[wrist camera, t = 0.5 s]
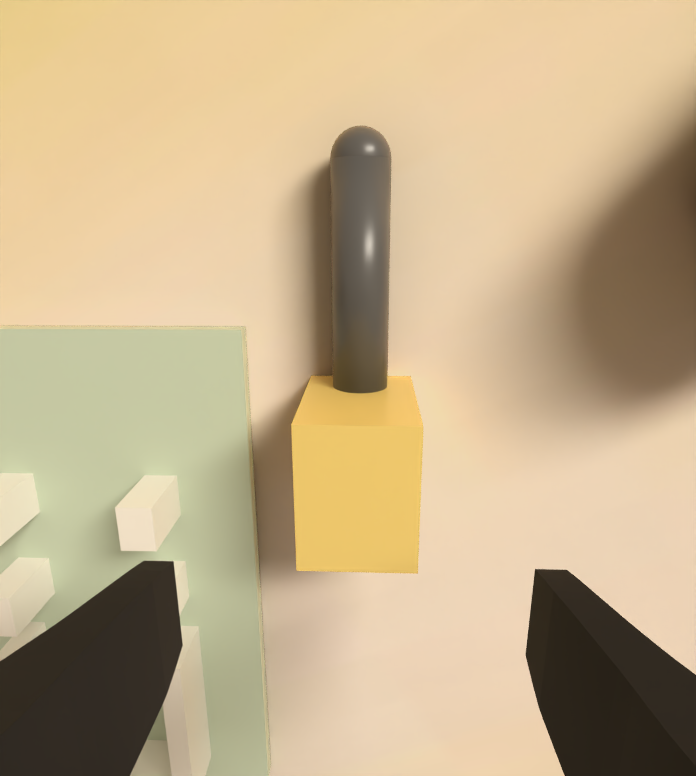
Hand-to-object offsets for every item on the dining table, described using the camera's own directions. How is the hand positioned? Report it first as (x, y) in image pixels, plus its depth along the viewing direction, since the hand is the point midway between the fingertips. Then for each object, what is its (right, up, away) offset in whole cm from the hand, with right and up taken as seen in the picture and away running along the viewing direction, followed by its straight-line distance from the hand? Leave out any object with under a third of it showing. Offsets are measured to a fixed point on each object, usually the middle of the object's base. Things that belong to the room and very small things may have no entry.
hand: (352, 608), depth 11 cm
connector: (0, +6, +8) cm, 10 cm away
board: (-10, -3, +11) cm, 15 cm away
